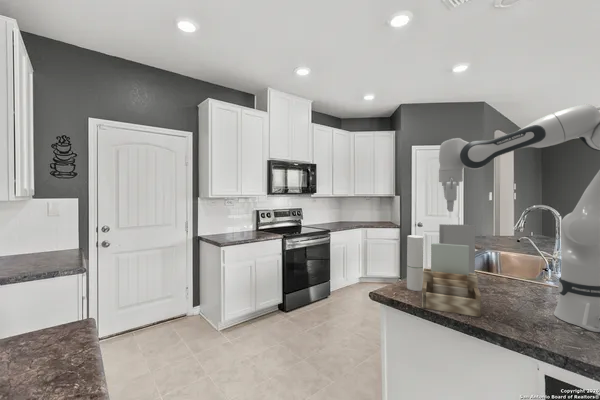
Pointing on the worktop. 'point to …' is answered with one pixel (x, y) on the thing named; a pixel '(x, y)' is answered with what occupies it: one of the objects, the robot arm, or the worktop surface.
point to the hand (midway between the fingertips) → (450, 210)
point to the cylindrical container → (415, 262)
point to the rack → (452, 297)
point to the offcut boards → (450, 284)
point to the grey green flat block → (450, 258)
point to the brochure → (459, 239)
